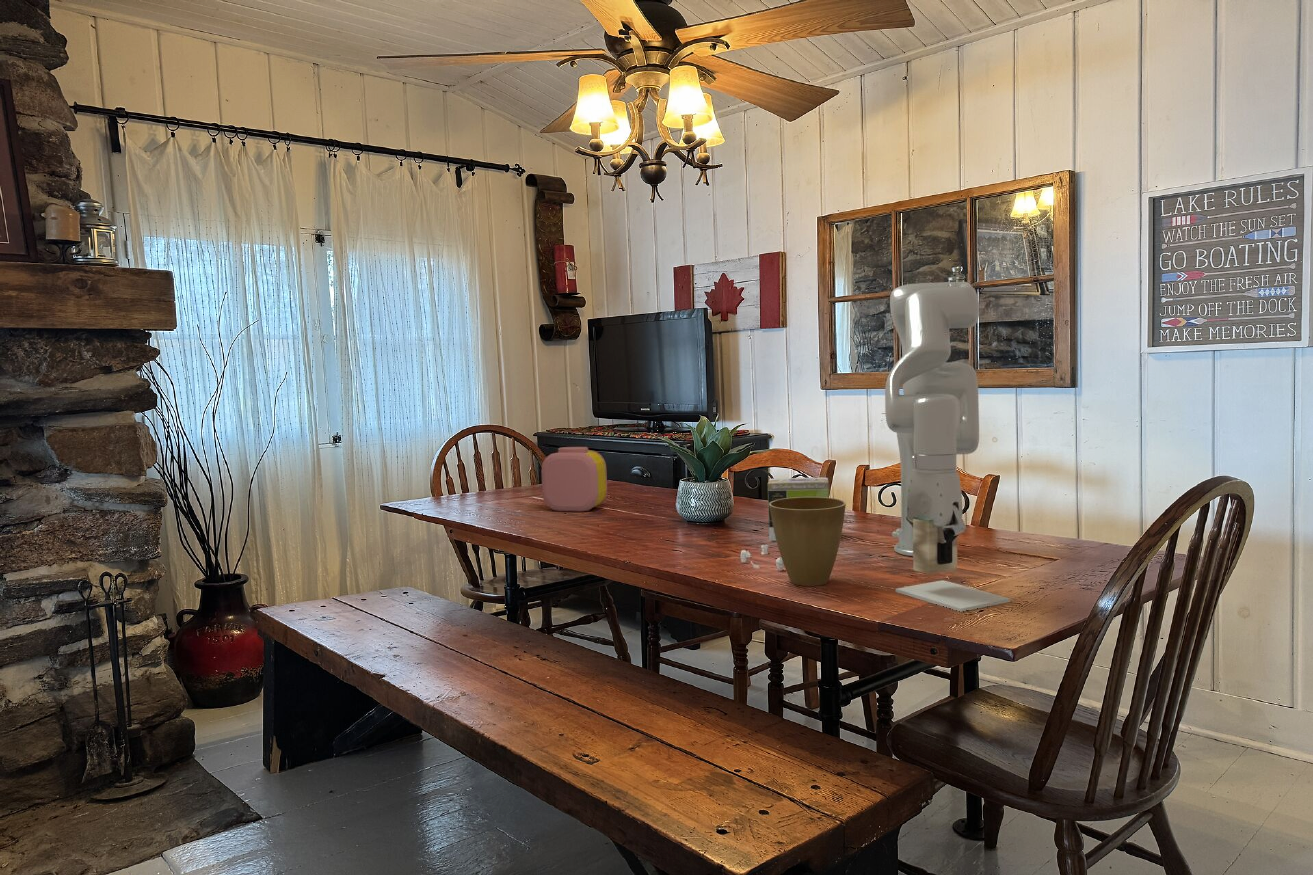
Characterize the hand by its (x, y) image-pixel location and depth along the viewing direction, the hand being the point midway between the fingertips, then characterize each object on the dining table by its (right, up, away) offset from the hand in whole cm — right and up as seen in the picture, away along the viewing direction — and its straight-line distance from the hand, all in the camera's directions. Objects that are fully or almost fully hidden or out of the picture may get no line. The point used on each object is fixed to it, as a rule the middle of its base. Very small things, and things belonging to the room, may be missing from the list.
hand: (935, 560), depth 161 cm
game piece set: (-24, -5, +30) cm, 39 cm away
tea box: (-16, -2, +55) cm, 57 cm away
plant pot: (-22, -6, +11) cm, 25 cm away
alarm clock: (-77, 0, +109) cm, 134 cm away
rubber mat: (+2, -6, -3) cm, 7 cm away
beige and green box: (0, -2, 0) cm, 2 cm away
